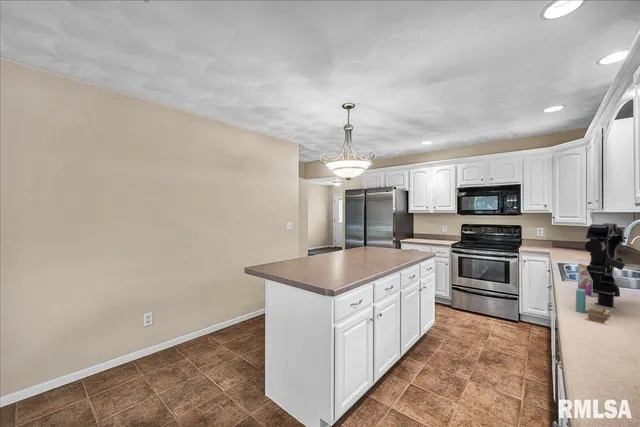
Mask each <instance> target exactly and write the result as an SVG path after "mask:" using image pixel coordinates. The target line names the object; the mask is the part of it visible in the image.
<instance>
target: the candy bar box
mask: <svg viewBox="0 0 640 427" xmlns="http://www.w3.org/2000/svg"><path fill="white" fill-rule="evenodd" d="M588 265H590V263H589V264H588V263H578V265H577V267H578V268H577V283H578V284H577V289H585V290H586V296H589V297H591V296H592V297H591V298H593V297H594V298H598V293H593V286H592V284H593V280H592V278H591V277H590V275H589V273H588V272H587V266H588Z"/></svg>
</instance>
